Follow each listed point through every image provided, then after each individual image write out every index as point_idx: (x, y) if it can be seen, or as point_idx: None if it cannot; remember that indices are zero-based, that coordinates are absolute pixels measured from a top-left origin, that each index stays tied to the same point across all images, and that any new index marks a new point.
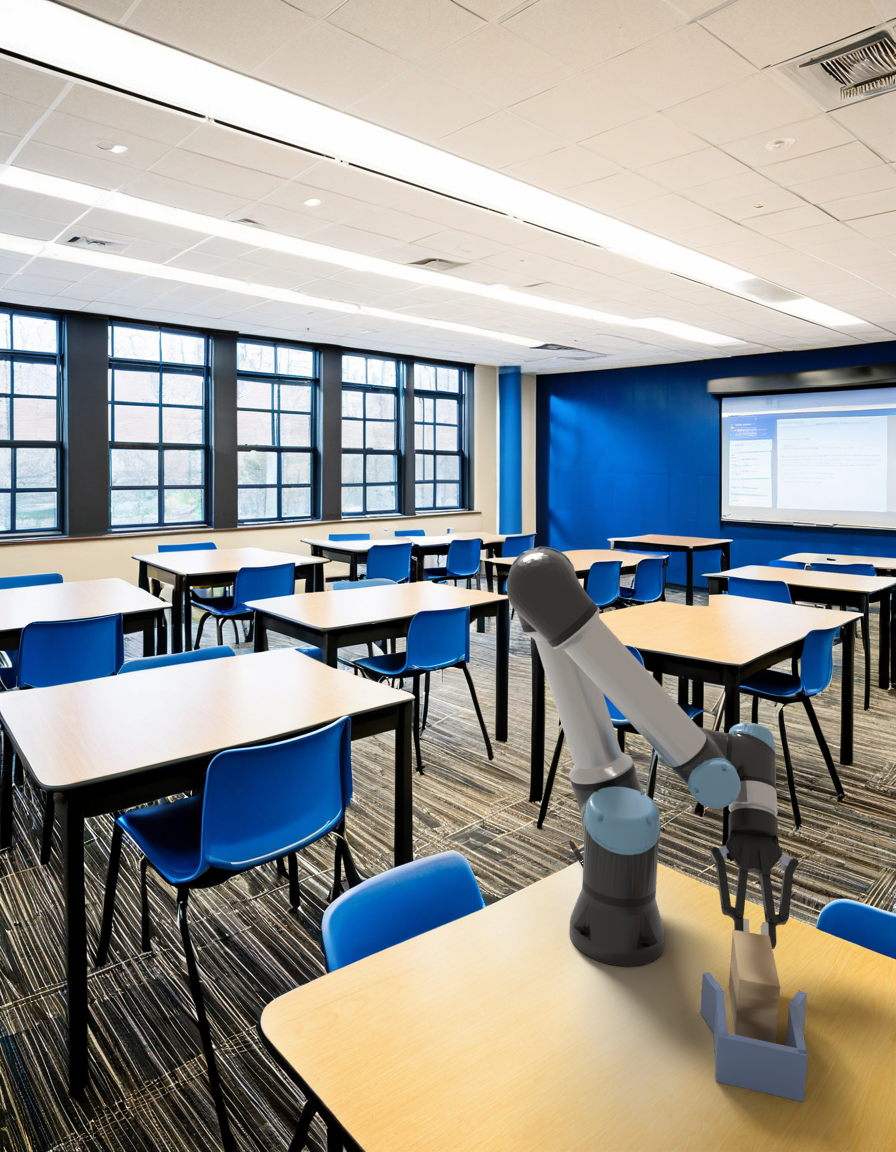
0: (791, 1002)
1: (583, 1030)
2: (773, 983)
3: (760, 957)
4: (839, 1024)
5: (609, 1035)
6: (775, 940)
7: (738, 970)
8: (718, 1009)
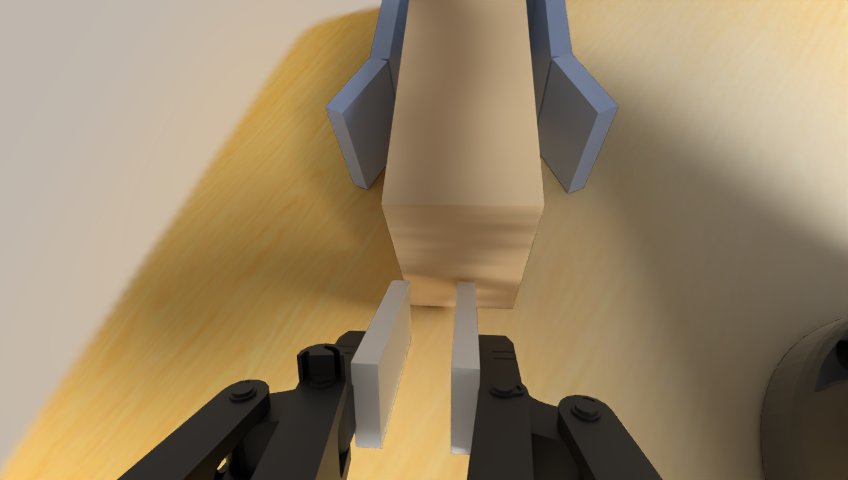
0: (379, 66)
1: (817, 77)
2: None
3: (446, 72)
4: (255, 238)
5: (759, 80)
6: (339, 343)
7: (525, 4)
8: (562, 5)
